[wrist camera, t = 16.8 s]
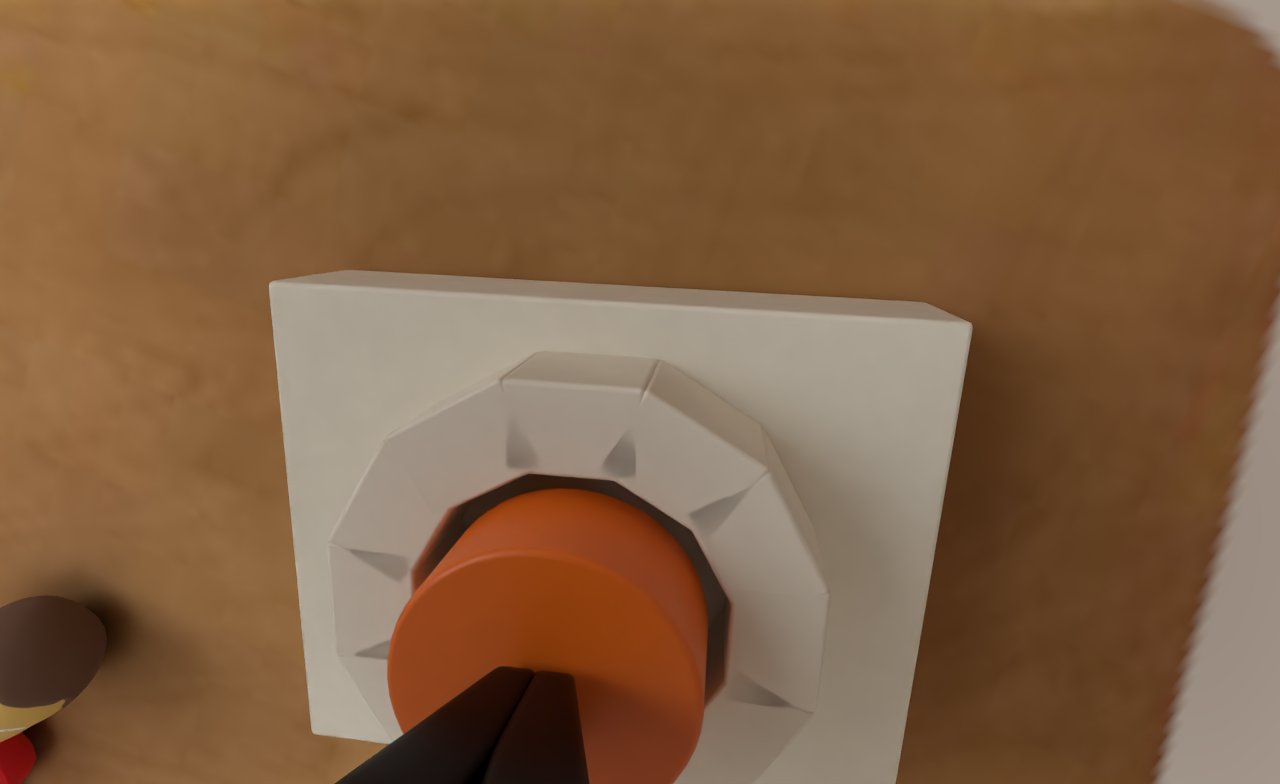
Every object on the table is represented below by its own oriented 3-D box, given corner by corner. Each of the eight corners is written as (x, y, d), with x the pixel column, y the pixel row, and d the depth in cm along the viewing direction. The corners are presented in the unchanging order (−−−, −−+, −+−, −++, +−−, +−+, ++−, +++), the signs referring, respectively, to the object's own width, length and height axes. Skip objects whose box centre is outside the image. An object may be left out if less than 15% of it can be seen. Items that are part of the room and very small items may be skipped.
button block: (928, 301, 11) (1035, 348, 7) (865, 717, 13) (923, 925, 9) (345, 268, 12) (168, 294, 8) (372, 658, 14) (240, 822, 10)
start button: (717, 498, 9) (715, 568, 7) (699, 739, 9) (692, 853, 8) (440, 473, 9) (373, 534, 7) (449, 707, 10) (391, 809, 8)
